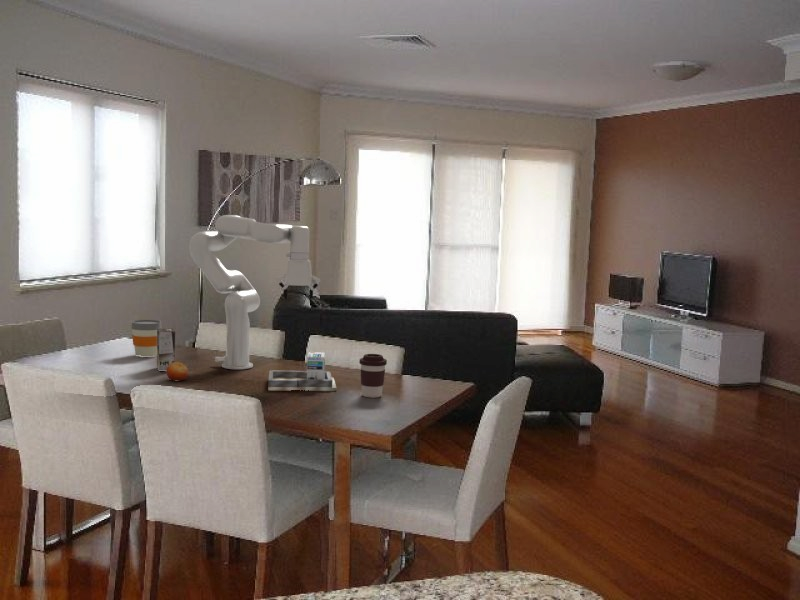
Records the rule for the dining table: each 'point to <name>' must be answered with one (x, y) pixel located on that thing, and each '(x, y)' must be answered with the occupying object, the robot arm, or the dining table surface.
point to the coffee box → (165, 348)
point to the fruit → (177, 371)
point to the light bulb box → (316, 365)
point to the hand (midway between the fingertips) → (298, 299)
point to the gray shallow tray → (299, 381)
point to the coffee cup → (372, 374)
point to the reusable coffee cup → (145, 336)
